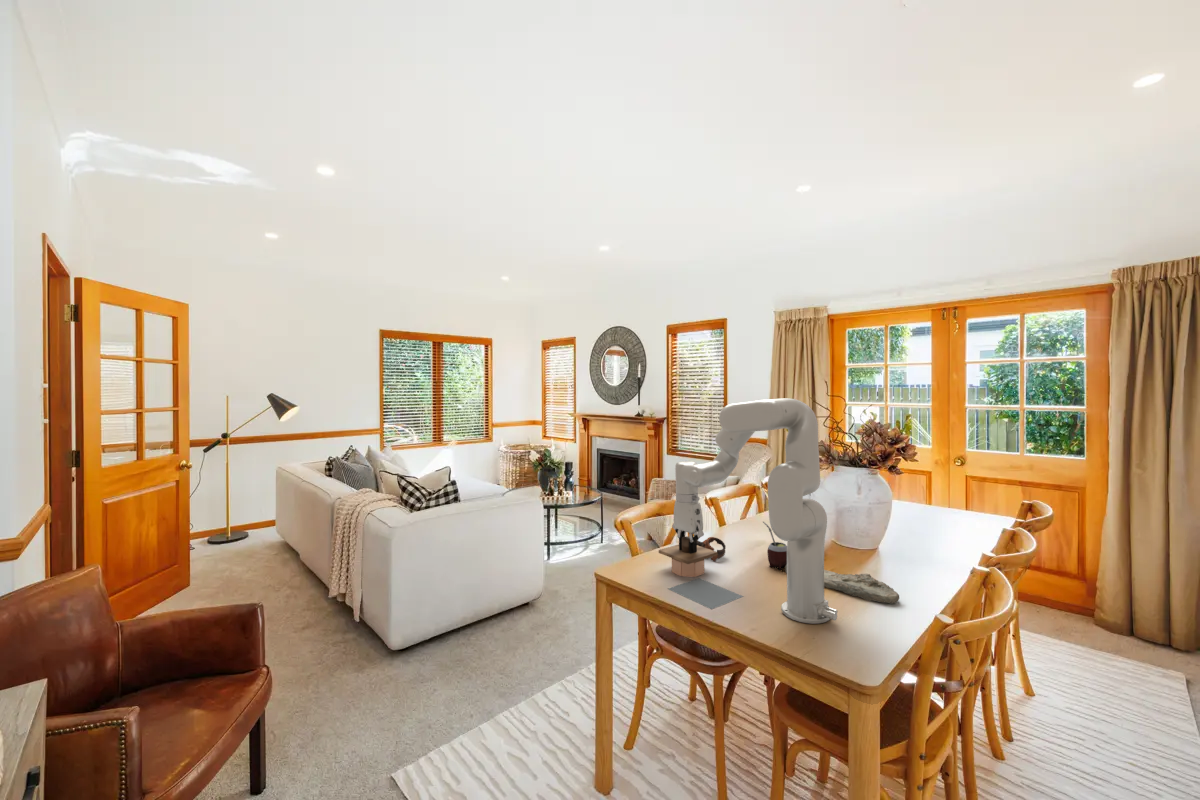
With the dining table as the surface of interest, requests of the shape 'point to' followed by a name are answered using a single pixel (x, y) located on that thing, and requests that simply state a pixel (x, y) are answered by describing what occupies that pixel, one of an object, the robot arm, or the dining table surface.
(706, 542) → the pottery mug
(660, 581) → the dining table surface
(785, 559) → the mate gourd
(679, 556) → the lid
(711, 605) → the mat
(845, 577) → the long grey stone
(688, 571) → the bowl
